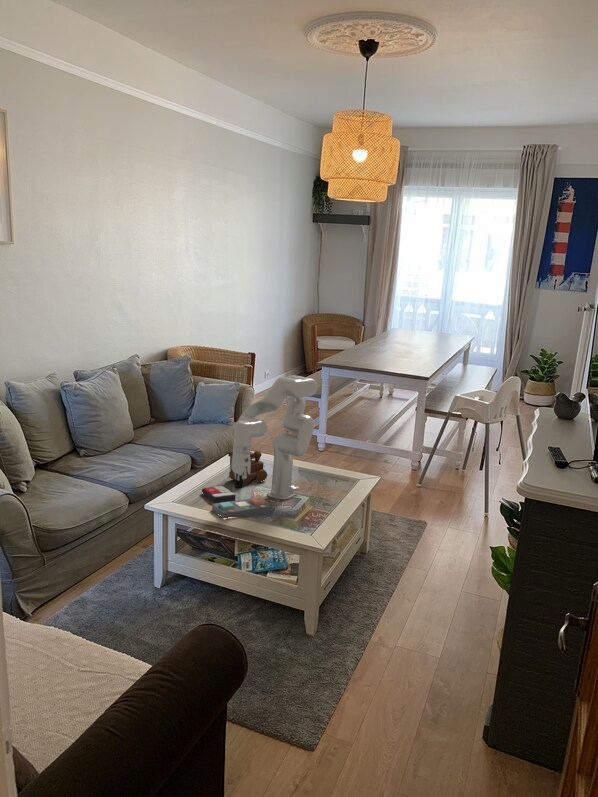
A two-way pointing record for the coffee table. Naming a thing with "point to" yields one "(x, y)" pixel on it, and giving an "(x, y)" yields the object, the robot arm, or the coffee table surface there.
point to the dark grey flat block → (242, 509)
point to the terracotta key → (257, 501)
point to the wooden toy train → (255, 470)
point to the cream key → (242, 504)
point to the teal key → (226, 506)
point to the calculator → (218, 494)
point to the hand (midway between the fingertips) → (238, 488)
